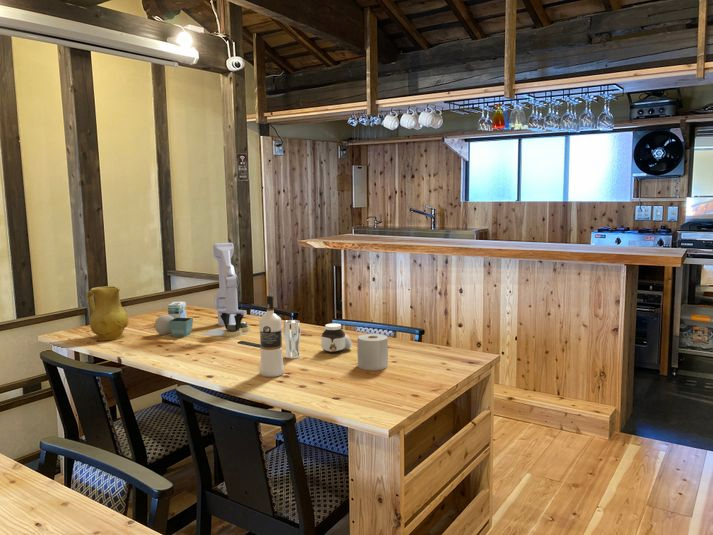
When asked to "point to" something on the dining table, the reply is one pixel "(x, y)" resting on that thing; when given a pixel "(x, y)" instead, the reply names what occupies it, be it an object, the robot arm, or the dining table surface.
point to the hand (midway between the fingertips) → (232, 328)
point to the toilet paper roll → (372, 351)
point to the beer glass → (292, 338)
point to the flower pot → (181, 326)
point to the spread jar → (335, 339)
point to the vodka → (271, 342)
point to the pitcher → (106, 313)
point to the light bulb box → (177, 310)
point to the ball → (163, 324)
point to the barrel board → (223, 332)
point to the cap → (231, 327)
